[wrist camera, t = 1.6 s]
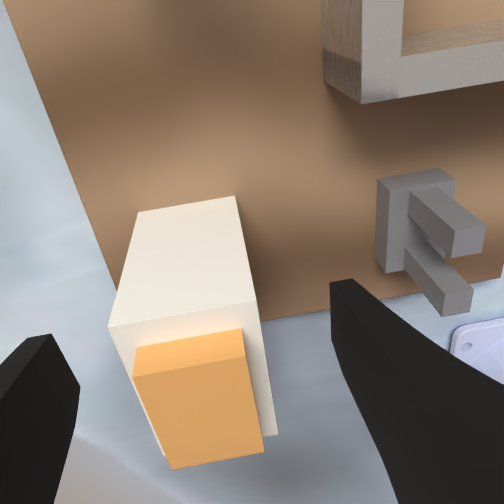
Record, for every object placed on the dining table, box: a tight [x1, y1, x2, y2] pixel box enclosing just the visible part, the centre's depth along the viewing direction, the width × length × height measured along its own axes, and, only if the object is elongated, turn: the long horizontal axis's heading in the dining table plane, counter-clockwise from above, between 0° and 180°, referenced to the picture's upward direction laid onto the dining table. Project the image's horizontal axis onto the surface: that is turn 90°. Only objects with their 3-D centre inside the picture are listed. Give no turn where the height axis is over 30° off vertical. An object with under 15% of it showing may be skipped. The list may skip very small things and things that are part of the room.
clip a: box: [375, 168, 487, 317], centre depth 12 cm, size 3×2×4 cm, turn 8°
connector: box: [108, 196, 278, 470], centre depth 11 cm, size 4×3×6 cm, turn 8°
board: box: [3, 0, 504, 322], centre depth 12 cm, size 16×14×1 cm
